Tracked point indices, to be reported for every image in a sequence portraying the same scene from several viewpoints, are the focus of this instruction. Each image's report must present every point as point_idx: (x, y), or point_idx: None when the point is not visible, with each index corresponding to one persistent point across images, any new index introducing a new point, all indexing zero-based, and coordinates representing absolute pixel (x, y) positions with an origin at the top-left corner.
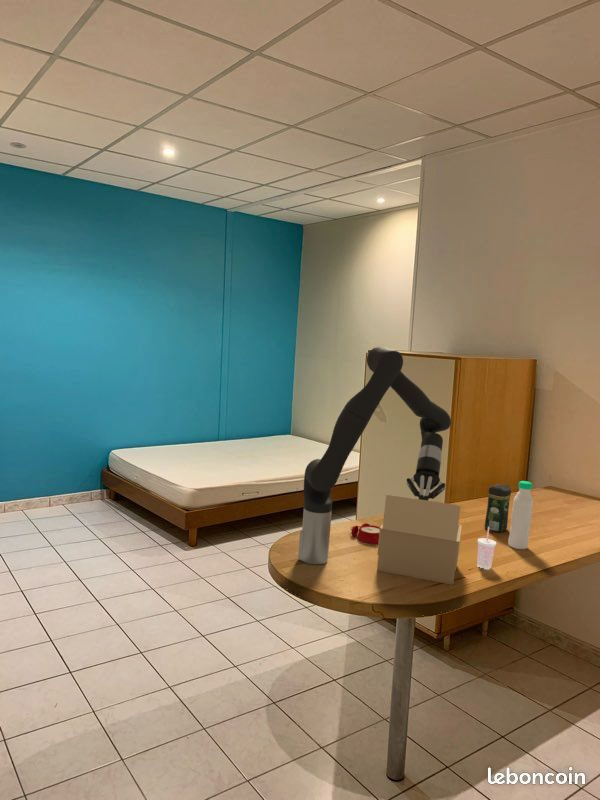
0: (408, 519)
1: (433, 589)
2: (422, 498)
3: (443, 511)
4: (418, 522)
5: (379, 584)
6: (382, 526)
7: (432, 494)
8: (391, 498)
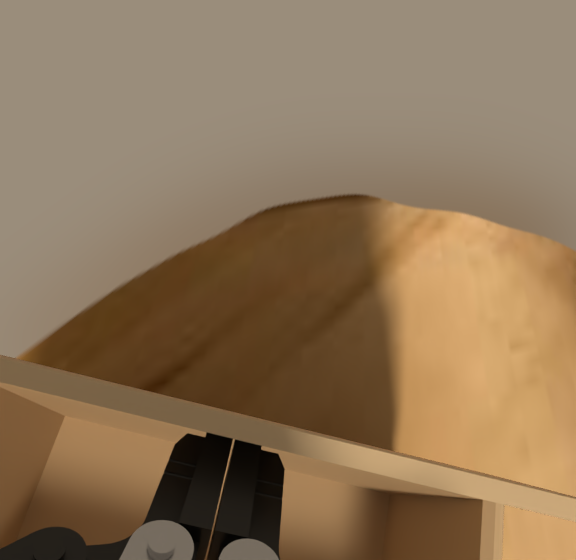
0: (338, 438)
1: (168, 340)
2: (233, 496)
3: (6, 358)
4: (253, 417)
5: (380, 340)
6: (491, 545)
7: (60, 536)
8: None
